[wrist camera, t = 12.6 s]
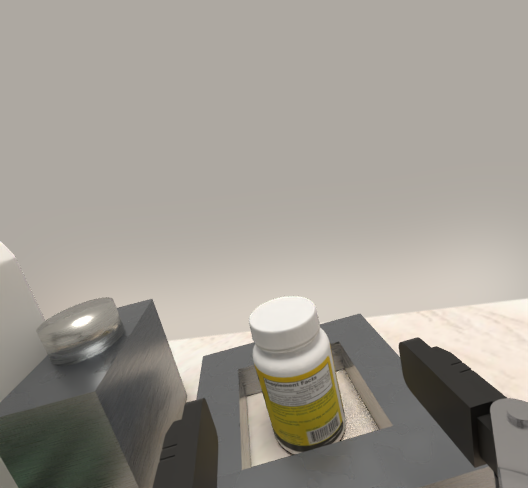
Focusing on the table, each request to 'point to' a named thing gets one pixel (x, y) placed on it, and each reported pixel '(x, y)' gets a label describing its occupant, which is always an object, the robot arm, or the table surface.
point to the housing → (220, 405)
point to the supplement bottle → (297, 374)
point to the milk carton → (16, 334)
